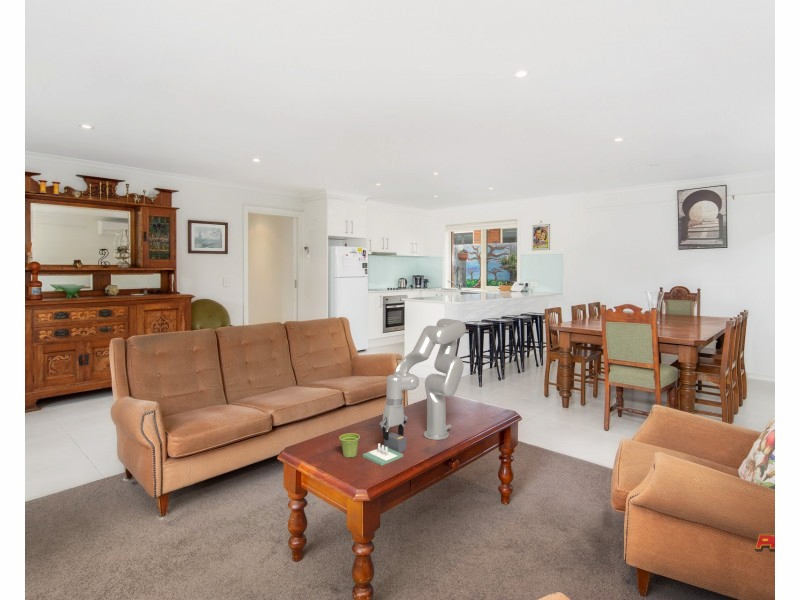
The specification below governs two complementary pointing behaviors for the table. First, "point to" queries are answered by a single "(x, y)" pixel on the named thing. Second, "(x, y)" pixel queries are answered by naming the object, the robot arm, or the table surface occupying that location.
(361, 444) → the table surface
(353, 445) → the plant pot
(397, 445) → the block
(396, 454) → the header board
